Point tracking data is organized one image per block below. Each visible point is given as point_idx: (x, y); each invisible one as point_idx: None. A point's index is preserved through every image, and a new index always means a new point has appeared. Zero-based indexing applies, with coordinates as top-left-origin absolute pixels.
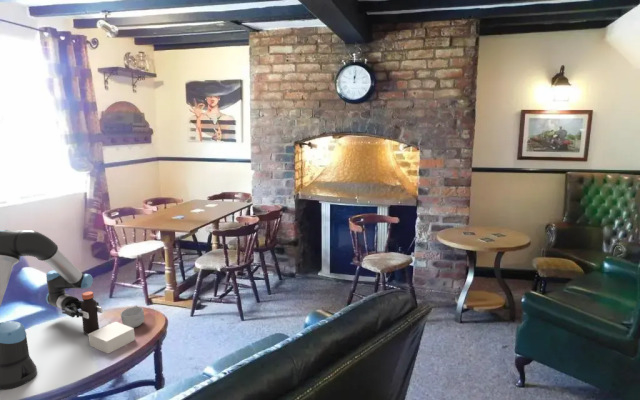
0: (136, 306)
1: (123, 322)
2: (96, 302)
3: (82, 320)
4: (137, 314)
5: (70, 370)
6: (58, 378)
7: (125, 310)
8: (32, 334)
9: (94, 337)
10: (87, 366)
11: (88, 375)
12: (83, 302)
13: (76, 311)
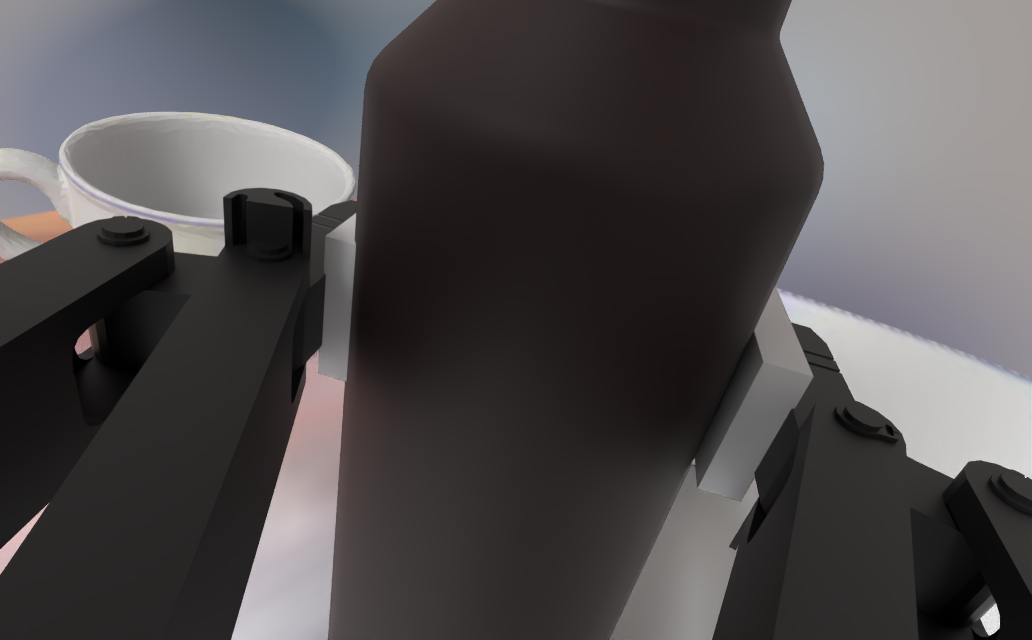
0: (25, 151)
1: None
2: (93, 248)
3: (628, 592)
4: (303, 138)
5: (945, 408)
6: (1029, 422)
7: (138, 210)
8: None
9: None
10: (841, 353)
11: (864, 320)
12: (785, 62)
13: (889, 422)
